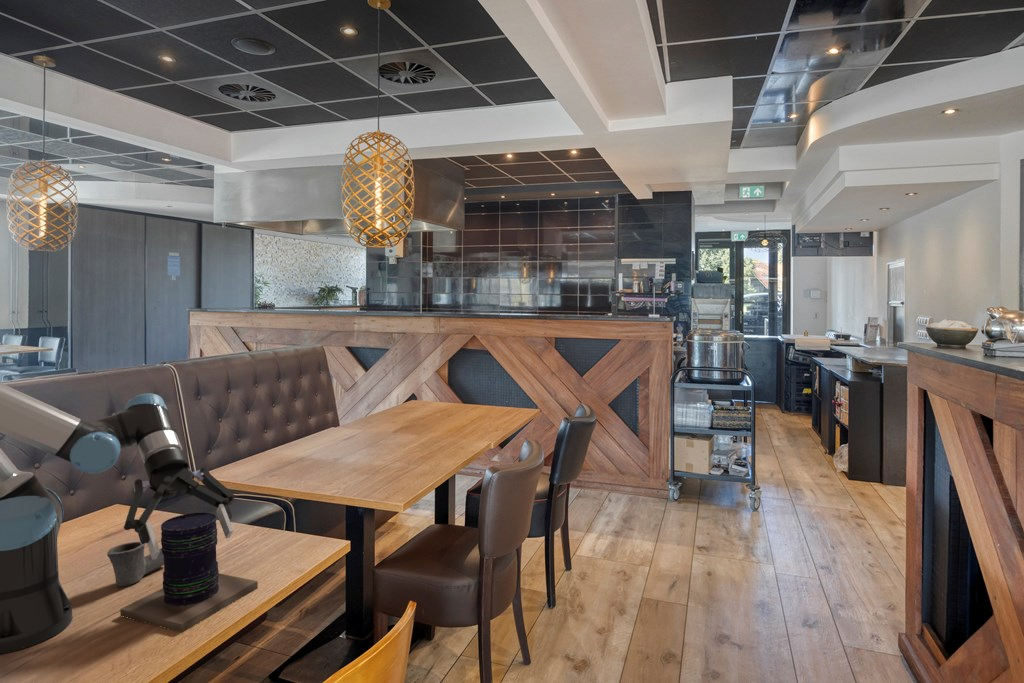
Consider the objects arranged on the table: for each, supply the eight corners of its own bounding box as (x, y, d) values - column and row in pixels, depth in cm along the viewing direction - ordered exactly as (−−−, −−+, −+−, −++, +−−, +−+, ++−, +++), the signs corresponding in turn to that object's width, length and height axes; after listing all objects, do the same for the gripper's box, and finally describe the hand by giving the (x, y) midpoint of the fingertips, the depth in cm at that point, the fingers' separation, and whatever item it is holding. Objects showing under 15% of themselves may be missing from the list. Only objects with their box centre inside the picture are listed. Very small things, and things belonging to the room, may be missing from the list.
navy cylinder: (227, 593, 118) (225, 520, 117) (174, 612, 110) (170, 534, 109) (207, 578, 124) (205, 509, 123) (156, 595, 117) (152, 521, 116)
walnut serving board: (182, 632, 106) (181, 624, 106) (120, 616, 112) (120, 609, 112) (257, 588, 123) (257, 581, 123) (200, 576, 128) (200, 569, 128)
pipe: (174, 567, 133) (173, 533, 133) (121, 593, 121) (119, 555, 121) (154, 564, 135) (153, 530, 135) (100, 589, 123) (98, 551, 123)
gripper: (219, 456, 135) (251, 535, 126) (90, 480, 117) (117, 576, 108) (228, 436, 132) (262, 517, 123) (96, 458, 113) (125, 555, 104)
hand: (194, 544), depth 115 cm, fingers open, 13 cm apart
